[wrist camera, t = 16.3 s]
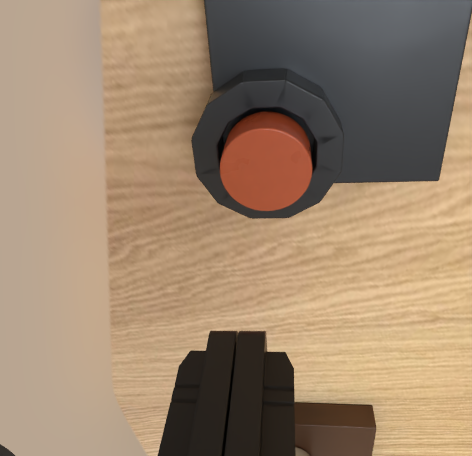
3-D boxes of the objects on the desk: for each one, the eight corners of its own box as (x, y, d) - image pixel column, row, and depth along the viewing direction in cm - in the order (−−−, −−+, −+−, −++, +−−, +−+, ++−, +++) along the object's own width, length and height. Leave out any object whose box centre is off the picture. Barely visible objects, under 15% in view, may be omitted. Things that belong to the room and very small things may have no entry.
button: (228, 190, 22) (223, 212, 21) (221, 112, 20) (214, 129, 19) (309, 189, 22) (311, 211, 20) (310, 109, 20) (313, 126, 18)
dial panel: (213, 463, 44) (210, 486, 42) (202, 399, 38) (197, 422, 36) (362, 471, 42) (366, 495, 40) (372, 405, 36) (376, 430, 35)
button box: (212, 182, 26) (202, 219, 23) (184, -59, 20) (164, -55, 17) (425, 178, 25) (446, 216, 22) (471, -83, 18) (511, -85, 15)
